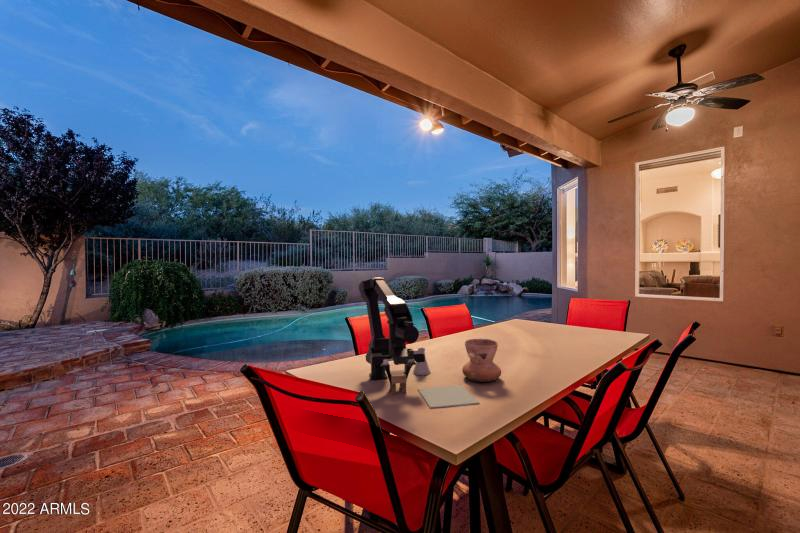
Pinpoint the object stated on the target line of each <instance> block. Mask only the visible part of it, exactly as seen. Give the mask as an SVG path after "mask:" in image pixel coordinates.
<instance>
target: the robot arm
mask: <svg viewBox="0 0 800 533" xmlns="http://www.w3.org/2000/svg"><path fill="white" fill-rule="evenodd" d="M358 291H359V293H360V296H361V298H362V300H363V301H364V302H365V303H366V310H367V316H368V323H369V328H370V336H371V338H370V340H369V343H368V350H367V352H366V354H365V361H366V363H368V364H369V365H370V373H368V374H369V377H370V380H372V381H373V380H383V379H384V380H385V379H388V382H389V384H390V383H391V374H390V371H391V365H390V363H389V362H393V364H394V365H395V366H399V365H404V369H403V371H404V372H405V374H406V382H407V381H408V378H409V374H410V372H411V369H412V368H413V366H415V365H416V362H425V358H426V354H425V355H424V354H423V353H422V352H421V351H418V350H414V348H412V347H410V348H407V344H406V343H408V344H414V343H415V342H417V341H418V339H419V336H420V332H419V329H418V328H417V326H415V325H414V322H413V321H414V320H413V315H412V312H410V309H409V306H408V304H407V303H406V302H405V301H404V300H403V299H402V298H400V297H397V296H396V295H395V294H394V293H393V290H392V289H391V288H390V286H389V285H388V284H387V283H386V279H385V278H384V277H372V278H370V279H367V280H361V281H360V282H359V284H358ZM379 298H380V300H381V301H382V303H383V305H384V309H383V312H384V314H385V316H386V318H387V321H386V324H388V337H386V336H385V335H384V330H383V324H382V318H381V313H380V312H381V311H380V308H379V307H380V306H379V301H378V300H379Z"/></svg>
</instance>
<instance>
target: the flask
mask: <svg viewBox="0 0 800 533" xmlns="http://www.w3.org/2000/svg"><path fill="white" fill-rule="evenodd" d="M417 351H421V352H422V353H423V354H424V355H425V356H426V353H425V351H426V348H425V347H417ZM415 363H416V365H414V368H413V371H412V372H413V374H414V375H417V376H418V375H419V376H426V375H429V374H431V370H430V367H429V364H428V362H427V359H426V357H425V362H416V361H415Z"/></svg>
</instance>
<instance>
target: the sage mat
mask: <svg viewBox="0 0 800 533" xmlns="http://www.w3.org/2000/svg"><path fill="white" fill-rule="evenodd" d="M417 391H418V392H419V394H420V395H421V396H422V398H423V400H424V401H425V404H427V406H428V407H429V409H440V408H450V407H457V406H459V407H460V406H471V405H480V402H479V400H477V398H475V397H474V395H472V394H471V393H470V391H468V390H467V389H466V388H465V387H463V385H462V384H456V385H444V386H434V387H423V388H422V387H420V388H417Z"/></svg>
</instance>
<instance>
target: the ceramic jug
mask: <svg viewBox="0 0 800 533" xmlns="http://www.w3.org/2000/svg"><path fill="white" fill-rule="evenodd" d="M498 345H499V344H498V342H497V341H496V340H493V339H489V338H470V339H467V340H465V341H464V346H465V350H466V353H467V357H468V358H469V361H468V362H465V364H464V365H463V366H462V370H461V371H462V374H463V375H464V377H466V378H467V379H469V380H471V381H474V382H478V383H479V382H481V383H489V382H492V381H496V380H498V379H499V378H501V375H502V370H501V367H500V366H499V365H497V363H495V362H494V358H495V355H496V353H497V352H498V351H497V350H498V347H499V346H498Z"/></svg>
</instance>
